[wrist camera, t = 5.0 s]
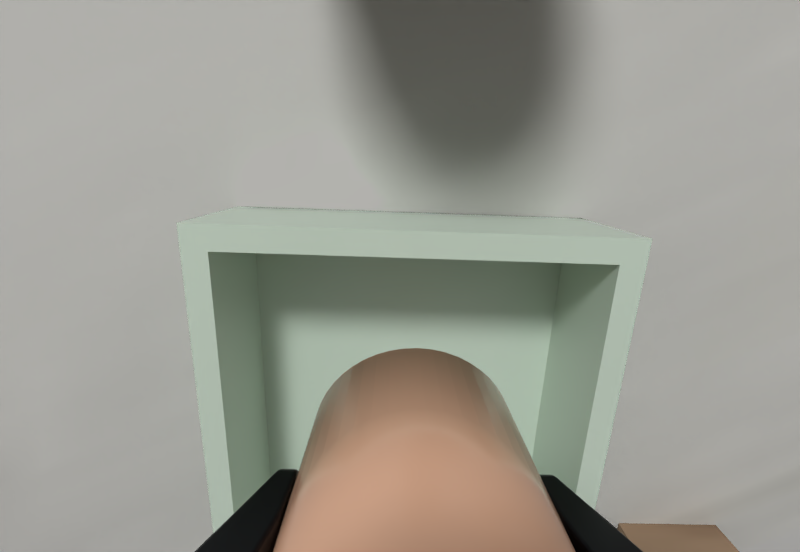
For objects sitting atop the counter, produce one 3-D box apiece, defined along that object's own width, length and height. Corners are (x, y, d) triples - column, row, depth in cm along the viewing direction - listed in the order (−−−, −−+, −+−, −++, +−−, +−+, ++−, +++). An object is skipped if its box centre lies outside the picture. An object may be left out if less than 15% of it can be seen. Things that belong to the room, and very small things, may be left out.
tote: (527, 557, 20) (562, 662, 16) (263, 553, 20) (227, 659, 16) (581, 218, 16) (652, 238, 11) (237, 206, 15) (176, 223, 11)
